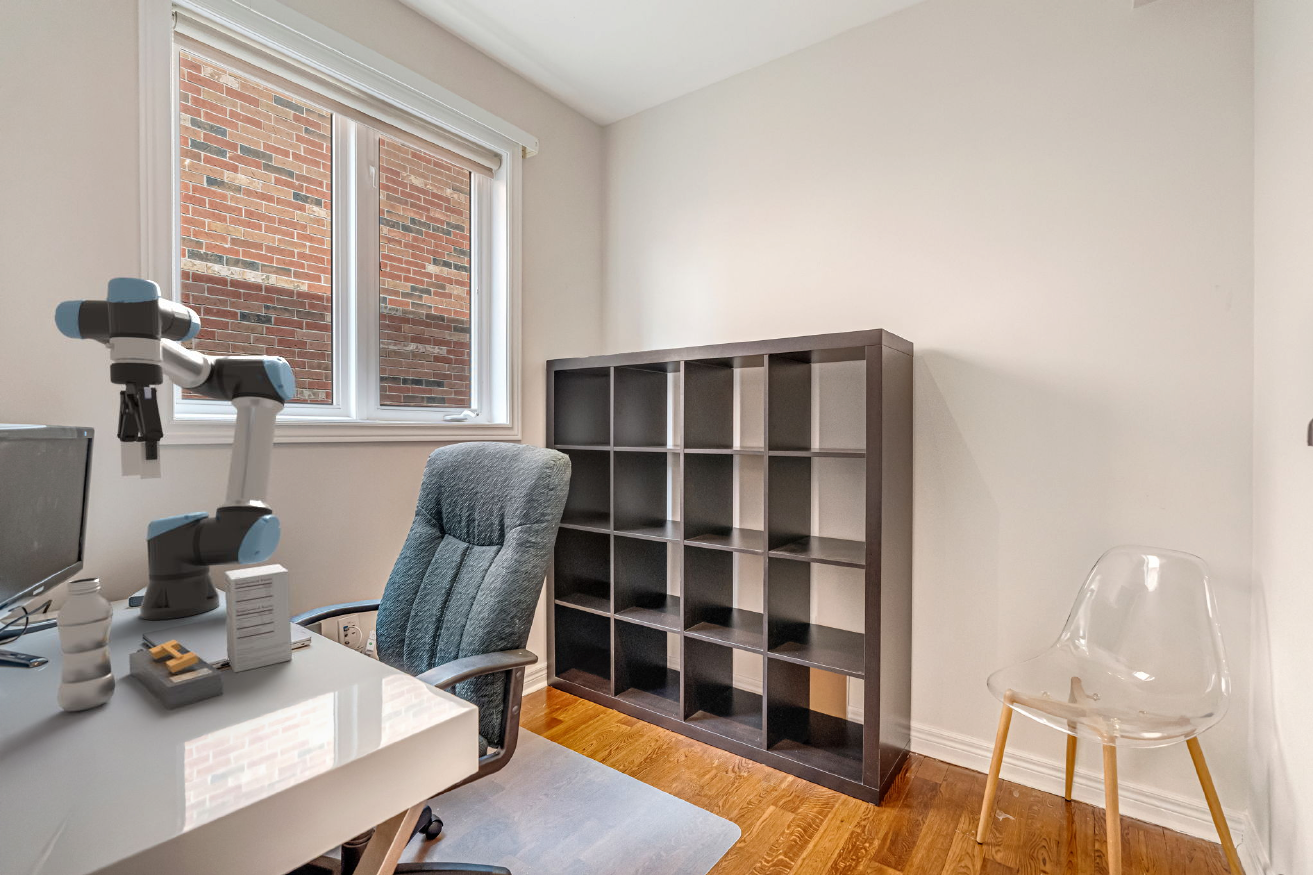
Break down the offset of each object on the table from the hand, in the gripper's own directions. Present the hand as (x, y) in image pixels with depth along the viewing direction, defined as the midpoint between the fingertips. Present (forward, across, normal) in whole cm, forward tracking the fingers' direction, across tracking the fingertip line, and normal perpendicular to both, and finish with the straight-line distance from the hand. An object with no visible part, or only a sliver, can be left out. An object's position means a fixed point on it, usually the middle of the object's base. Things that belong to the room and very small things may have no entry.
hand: (140, 477), depth 115 cm
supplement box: (+35, +17, +13) cm, 41 cm away
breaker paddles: (+30, +17, 0) cm, 34 cm away
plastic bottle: (+35, +17, -11) cm, 40 cm away
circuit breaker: (+35, +12, 0) cm, 37 cm away
